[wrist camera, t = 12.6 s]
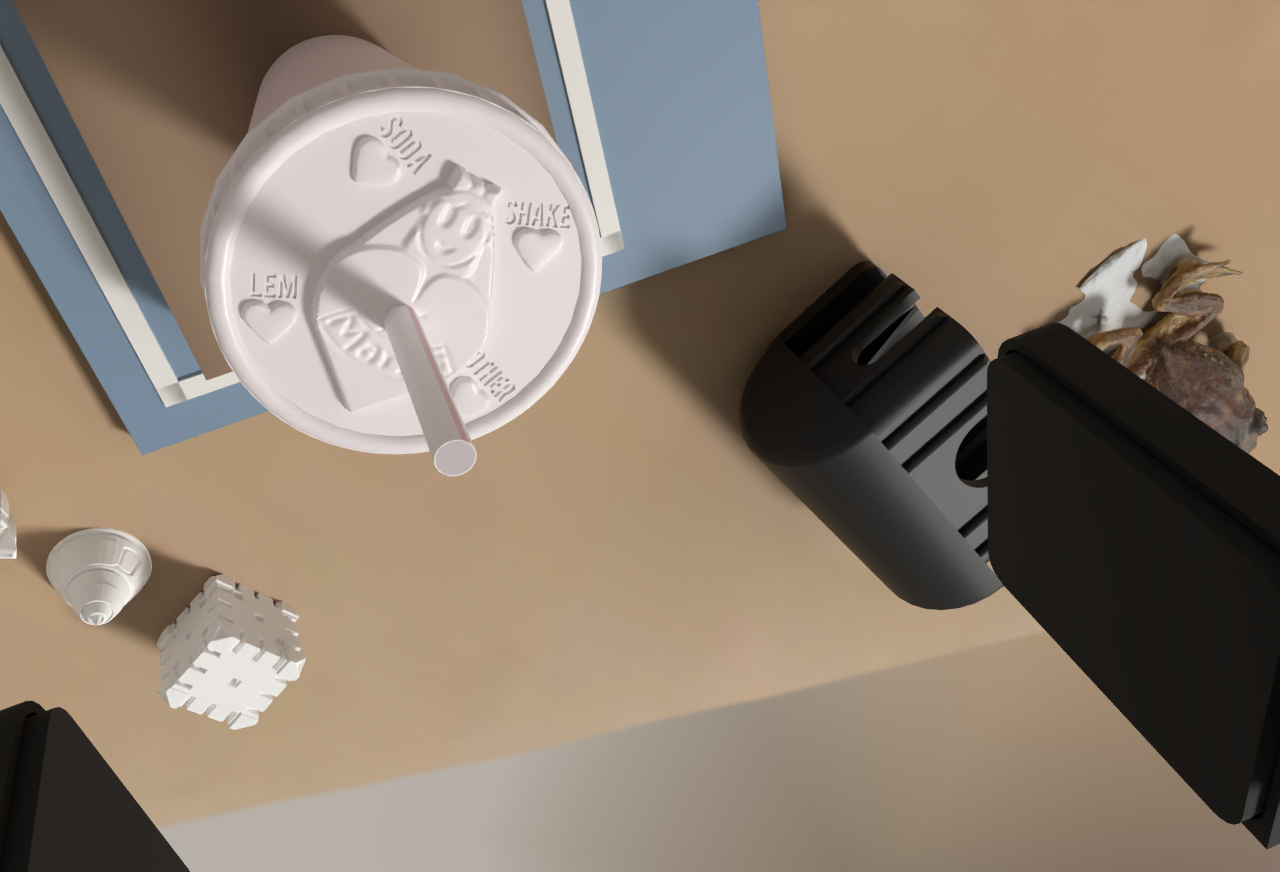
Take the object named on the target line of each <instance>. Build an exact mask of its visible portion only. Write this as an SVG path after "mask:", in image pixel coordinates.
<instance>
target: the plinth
mask: <svg viewBox="0 0 1280 872" xmlns="http://www.w3.org/2000/svg"><path fill="white" fill-rule="evenodd" d="M13 2H14V4H15V6H16V8H17V10H18V12H19V14H20V16H21V18H22V20H23V22H24V24H25V26H26V28H27V30H28V32H29V34H30V36H31V38H32V40H33V42H34V44H35V46H36V47H37V49H38V51H39V53H40V55H41V57H42V59H43V61H44V63H45V65H46V67H47V69H48V71H49V73H50V75H51V77H52V79H53V81H54V83H55V85H56V87H57V89H58V91H59V93H60V95H61V97H62V98H63V100H64V102H65V104H66V106H67V108H68V110H69V112H70V114H71V116H72V118H73V120H74V122H75V124H76V126H77V128H78V130H79V132H80V134H81V136H82V138H83V140H84V142H85V144H86V146H87V147H88V149H89V151H90V153H91V155H92V157H93V159H94V161H95V163H96V165H97V167H98V169H99V171H100V173H101V175H102V177H103V179H104V181H105V183H106V185H107V187H108V189H109V191H110V193H111V195H112V196H113V198H114V200H115V202H116V204H117V206H118V208H119V210H120V212H121V214H122V216H123V218H124V220H125V222H126V224H127V226H128V228H129V230H130V232H131V234H132V236H133V238H134V240H135V242H136V244H137V245H138V247H139V249H140V251H141V253H142V255H143V257H144V259H145V261H146V263H147V265H148V267H149V269H150V271H151V273H152V275H153V277H154V279H155V281H156V283H157V285H158V287H159V289H160V291H161V293H162V294H163V296H164V298H165V300H166V302H167V304H168V306H169V308H170V310H171V312H172V314H173V316H174V318H175V320H176V322H177V324H178V326H179V328H180V330H181V332H182V334H183V336H184V338H185V340H186V342H187V343H188V345H189V347H190V349H191V351H192V353H193V355H194V357H195V359H196V361H197V363H198V365H199V367H200V369H201V371H202V373H203V375H204V377H205V379H206V381H207V380H209V379H212V378H215V377H218V376H221V375H224V374H227V373H230V372H233V371H232V369H231V368H230V366H229V365H228V363H227V361H226V359H225V357H224V355H223V353H222V352H221V350H220V347H219V345H218V342H217V340H216V337H215V335H214V332H213V329H212V326H211V322H210V318H209V315H208V309H207V303H206V299H205V296H204V292H203V289H202V286H201V282H200V228H201V225H202V222H203V219H204V216H205V213H206V209H207V206H208V203H209V200H210V197H211V194H212V190H213V187H214V184H215V181H216V178H217V177H218V175H219V174H220V172H221V171H222V169H223V168H224V167H225V165H226V164H227V162H228V161H229V159H230V158H231V156H232V155H233V153H234V152H235V150H236V149H237V148H238V146H239V145H240V143H241V142H242V140H243V139H244V137H245V136H246V134H247V133H248V129H249V126H250V122H251V118H252V114H253V111H254V107H255V103H256V99H257V96H258V92H259V89H260V86H261V83H262V81H263V79H264V77H265V75H266V73H267V71H268V70H269V69H270V67H271V66H272V64H273V63H274V62H275V61H276V60H277V59H278V58H279V57H280V56H281V55H282V54H283V53H284V52H286V51H287V50H288V49H290V48H291V47H293V46H295V45H297V44H298V43H301V42H303V41H305V40H308V39H311V38H315V37H319V36H326V35H346V36H352V37H356V38H360V39H363V40H366V41H369V42H371V43H373V44H375V45H377V46H379V47H381V48H382V49H384V50H386V51H388V52H389V53H391V54H393V55H395V56H396V57H398V58H400V59H401V60H403V61H405V62H407V63H408V64H410V65H412V66H414V67H415V68H417V69H419V70H427V71H435V72H443V73H451V74H455V75H458V76H460V77H463V78H465V79H467V80H470V81H472V82H475V83H477V84H480V85H482V86H484V87H487V88H489V89H492V90H494V91H497V92H499V93H501V94H503V95H505V96H506V97H507V98H509V99H510V100H511V101H512V102H514V103H515V104H516V105H518V106H519V107H520V108H521V109H523V110H524V111H525V112H527V113H528V114H529V115H530V116H532V117H533V118H534V119H536V120H537V121H538V122H539V123H541V124H542V125H543V126H544V127H545V129H546V130H547V131H548V133H549V134H550V136H551V137H552V138H553V140H554V141H555V142H556V144H557V141H556V137H555V133H554V129H553V125H552V121H551V117H550V113H549V109H548V104H547V100H546V96H545V92H544V88H543V84H542V80H541V76H540V72H539V68H538V64H537V60H536V56H535V52H534V48H533V44H532V40H531V36H530V32H529V28H528V24H527V20H526V16H525V12H524V8H523V4H522V0H13Z"/></svg>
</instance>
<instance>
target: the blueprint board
mask: <svg viewBox="0 0 1280 872" xmlns="http://www.w3.org/2000/svg"><path fill="white" fill-rule="evenodd" d="M522 4H523V8H524V12H525V16H526V20H527V24H528V28H529V32H530V36H531V40H532V44H533V48H534V52H535V56H536V60H537V64H538V68H539V72H540V76H541V80H542V84H543V88H544V92H545V96H546V100H547V104H548V109H549V113H550V117H551V121H552V125H553V129H554V133H555V137H556V141H557V145H558V146H559V148H560V149H561V151H562V152H563V153H564V155H565V156H566V157H567V159H568V160H569V161H570V163H571V164H572V166H573V169H574V171H575V172H576V174H577V175H578V177H579V178H580V180H581V182H582V184H583V186H584V188H585V190H586V192H587V194H588V197H589V199H590V202H591V204H592V207H593V210H594V213H595V217H596V220H597V224H598V228H599V234H600V240H601V250H602V278H601V285H600V293H599V294H602V293H605V292H608V291H610V290H613V289H616V288H619V287H622V286H625V285H627V284H630V283H633V282H636V281H639V280H642V279H644V278H647V277H650V276H653V275H656V274H659V273H662V272H664V271H667V270H670V269H673V268H676V267H679V266H681V265H684V264H687V263H690V262H693V261H696V260H699V259H701V258H704V257H707V256H710V255H713V254H716V253H718V252H721V251H724V250H727V249H730V248H733V247H735V246H738V245H741V244H744V243H747V242H750V241H753V240H755V239H758V238H761V237H764V236H767V235H770V234H772V233H775V232H778V231H781V230H784V229H787V227H786V219H785V211H784V203H783V196H782V188H781V180H780V172H779V164H778V156H777V148H776V140H775V132H774V125H773V117H772V109H771V101H770V93H769V85H768V77H767V69H766V61H765V54H764V46H763V38H762V30H761V22H760V14H759V6H758V0H522ZM0 210H1V212H2V214H3V216H4V217H5V219H6V221H7V223H8V224H9V226H10V228H11V229H12V231H13V233H14V235H15V236H16V238H17V240H18V242H19V243H20V245H21V247H22V248H23V250H24V252H25V254H26V255H27V257H28V259H29V261H30V262H31V264H32V266H33V267H34V269H35V271H36V273H37V274H38V276H39V278H40V280H41V281H42V283H43V285H44V286H45V288H46V290H47V292H48V293H49V295H50V297H51V299H52V300H53V302H54V304H55V305H56V307H57V309H58V311H59V312H60V314H61V316H62V318H63V319H64V321H65V323H66V324H67V326H68V328H69V330H70V331H71V333H72V335H73V337H74V338H75V340H76V342H77V343H78V345H79V347H80V349H81V350H82V352H83V354H84V356H85V357H86V359H87V361H88V362H89V364H90V366H91V368H92V369H93V371H94V373H95V375H96V376H97V378H98V380H99V381H100V383H101V385H102V387H103V388H104V390H105V392H106V394H107V395H108V397H109V399H110V400H111V402H112V404H113V406H114V407H115V409H116V411H117V413H118V414H119V416H120V418H121V419H122V421H123V423H124V425H125V426H126V428H127V430H128V432H129V433H130V435H131V437H132V438H133V440H134V442H135V444H136V445H137V447H138V449H139V451H140V452H141V454H142V455H144V454H147V453H150V452H153V451H155V450H158V449H161V448H164V447H167V446H170V445H172V444H175V443H178V442H181V441H184V440H187V439H190V438H192V437H195V436H198V435H201V434H204V433H207V432H209V431H212V430H215V429H218V428H221V427H224V426H227V425H229V424H232V423H235V422H238V421H241V420H244V419H246V418H249V417H252V416H255V415H258V414H261V413H263V412H266V411H269V410H267V409H266V408H265V407H264V406H263V405H262V404H261V403H260V402H258V401H257V400H256V399H255V398H254V397H253V396H252V395H251V394H250V393H249V391H248V390H247V389H246V388H245V387H244V385H243V384H242V383H241V382H240V381H239V379H238V378H237V376H236V375H235V374H234V372H230V373H227V374H224V375H221V376H218V377H215V378H212V379H209V380H207V381H206V379H205V377H204V375H203V373H202V371H201V369H200V367H199V365H198V363H197V361H196V359H195V357H194V355H193V353H192V351H191V349H190V347H189V345H188V343H187V342H186V340H185V338H184V336H183V334H182V332H181V330H180V328H179V326H178V324H177V322H176V320H175V318H174V316H173V314H172V312H171V310H170V308H169V306H168V304H167V302H166V300H165V298H164V296H163V294H162V293H161V291H160V289H159V287H158V285H157V283H156V281H155V279H154V277H153V275H152V273H151V271H150V269H149V267H148V265H147V263H146V261H145V259H144V257H143V255H142V253H141V251H140V249H139V247H138V245H137V244H136V242H135V240H134V238H133V236H132V234H131V232H130V230H129V228H128V226H127V224H126V222H125V220H124V218H123V216H122V214H121V212H120V210H119V208H118V206H117V204H116V202H115V200H114V198H113V196H112V195H111V193H110V191H109V189H108V187H107V185H106V183H105V181H104V179H103V177H102V175H101V173H100V171H99V169H98V167H97V165H96V163H95V161H94V159H93V157H92V155H91V153H90V151H89V149H88V147H87V146H86V144H85V142H84V140H83V138H82V136H81V134H80V132H79V130H78V128H77V126H76V124H75V122H74V120H73V118H72V116H71V114H70V112H69V110H68V108H67V106H66V104H65V102H64V100H63V98H62V97H61V95H60V93H59V91H58V89H57V87H56V85H55V83H54V81H53V79H52V77H51V75H50V73H49V71H48V69H47V67H46V65H45V63H44V61H43V59H42V57H41V55H40V53H39V51H38V49H37V47H36V46H35V44H34V42H33V40H32V38H31V36H30V34H29V32H28V30H27V28H26V26H25V24H24V22H23V20H22V18H21V16H20V14H19V12H18V10H17V8H16V6H15V4H14V2H13V0H0Z"/></svg>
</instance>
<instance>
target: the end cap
mask: <svg viewBox="0 0 1280 872" xmlns="http://www.w3.org/2000/svg"><path fill="white" fill-rule="evenodd" d="M919 298H920V297H919V295H918V294H917V293H916V291H915V290H914V289H913V288H911V287H910V286H909V285H907V284H906V283H905V282H903V281H902V280H901V279H899V278H898V277H897V276H895V275H894V274H890V275H889V276H888V277H887V276H886V274H885V273H884V272H883V271H882V270H881V269H880V268H878V267H877V266H876V265H874V264H873V263H871V262H860V263H858V264H857V265H855V266H853V267H852V268H851V269H850V270H849V271H848V272H847V273H846V274H844V275H843V276H842V277H841V278H840V279H839V280H838V281H837V282H836V283H835V284H834V285H832V286H831V287H830V288H829V289H828V290H827V291H826V292H825V293H824V294H823V295H822V296H820V297H819V298H818V299H817V300H816V301H815V302H814V303H813V304H812V305H811V306H810V307H808V308H807V309H806V310H805V311H804V312H803V313H802V314H801V315H800V316H799V317H797V318H796V319H795V320H794V321H793V322H792V323H791V324H790V325H789V326H788V327H787V328H785V329H784V330H783V331H782V332H781V333H780V334H779V335H778V337H777V338H776V339H775V340H774V341H773V343H772V344H771V345H770V346H769V348H768V349H767V350H766V352H765V354H764V355H763V356H762V357H761V359H760V360H759V361H758V363H757V364H756V366H755V368H754V369H753V371H752V373H751V375H750V377H749V378H748V381H747V383H746V386H745V389H744V391H743V394H742V398H741V404H740V409H739V412H740V427H741V431H742V435H743V438H744V440H745V441H746V443H747V445H748V446H749V448H750V450H751V451H752V452H753V453H754V454H755V455H756V456H757V457H758V458H759V459H760V460H761V461H762V462H763V463H764V464H765V465H766V466H767V467H768V468H769V469H770V470H771V471H772V472H773V473H774V474H775V475H776V476H777V477H778V478H779V479H780V480H781V481H782V482H783V483H784V484H785V485H786V486H787V487H788V488H789V489H790V490H791V491H792V492H793V493H794V494H795V495H796V496H797V497H798V498H799V499H800V500H801V501H802V502H803V503H804V504H805V505H806V506H807V507H808V508H809V509H810V510H811V511H812V512H813V513H814V514H815V515H816V516H817V517H818V518H819V519H820V520H821V521H822V522H823V523H824V524H825V525H826V526H827V527H828V528H829V529H830V530H831V531H832V532H833V533H834V534H835V535H836V536H837V537H838V538H839V539H840V540H841V541H842V542H843V543H844V544H845V545H846V546H847V547H848V548H849V549H850V550H851V551H852V552H853V553H854V554H855V555H856V556H857V557H858V558H859V559H860V560H861V561H862V562H863V563H864V564H865V565H866V566H867V567H868V568H869V569H870V570H871V571H872V572H873V573H874V574H875V575H876V576H877V577H878V578H879V579H880V580H881V581H882V582H883V583H884V584H885V585H886V586H887V587H888V588H889V589H890V590H891V591H892V592H893V593H894V594H896V595H897V596H898V597H899V598H901V599H903V600H904V601H906V602H908V603H910V604H912V605H915V606H918V607H922V608H925V609H935V610H946V609H955V608H961V607H964V606H967V605H971V604H974V603H976V602H978V601H980V600H982V599H984V598H986V597H989V596H990V595H992V594H993V593H995V592H996V591H997V590H999V589H1000V588H1002V587H1003V586H1004V585H1003V584H1002V583H1001V581H1000V580H999V579H998V577H997V576H996V575H995V574H994V572H993V571H992V570H991V569H990V568H989V567H988V565H987V564H986V563H987V562H988V561H989V560H990V559H989V555H988V495H987V369H988V365H989V363H990V362H991V360H990V359H989V358H988V356H987V355H986V353H985V352H984V350H983V349H982V348H981V346H980V345H979V343H978V342H977V341H976V340H975V338H974V337H973V336H972V335H971V334H970V333H969V332H968V331H967V330H966V329H965V328H964V327H963V326H962V325H960V324H959V323H958V322H957V321H955V320H954V319H953V318H951V317H950V316H949V315H947V314H946V313H945V312H943V311H942V310H941V309H939V308H938V307H937V308H936V309H934V310H933V311H932V312H931V313H930V314H929V315H928V316H927V317H926V318H925V317H924V316H923V315H922V313H921V312H920V311H919V309H918V308H917V306H916V305H915V304H914V303H915V302H916V301H917V300H918V299H919Z"/></svg>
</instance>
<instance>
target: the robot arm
mask: <svg viewBox="0 0 1280 872" xmlns="http://www.w3.org/2000/svg"><path fill="white" fill-rule="evenodd" d="M987 495H988V555H989V559H990V562H991V565H992V567H993V570H994V572H995V574H996V575H997V577H998V579H999V580H1000V581H1001V583H1002V584H1003V585H1004V586H1005V587H1006V588H1007V589H1008V591H1009V592H1010V593H1011V594H1012V595H1013V596H1014V597H1015V598H1016V599H1017V600H1018V601H1019V602H1020V604H1021V605H1022V606H1023V607H1024V608H1025V609H1026V610H1027V611H1028V612H1029V613H1030V614H1031V615H1032V617H1033V618H1034V619H1035V620H1036V621H1037V622H1038V623H1039V624H1040V625H1041V626H1042V627H1043V628H1044V629H1045V631H1046V632H1047V633H1048V634H1049V635H1050V636H1051V637H1052V638H1053V639H1054V640H1055V641H1056V642H1057V643H1058V645H1059V646H1060V647H1061V648H1062V649H1063V650H1064V651H1065V652H1066V653H1067V654H1068V655H1069V656H1070V658H1071V659H1072V660H1073V661H1074V662H1075V663H1076V664H1077V665H1078V666H1079V667H1080V668H1081V669H1082V671H1083V672H1084V673H1085V674H1086V675H1087V676H1088V677H1089V678H1090V679H1091V680H1092V681H1093V682H1094V683H1095V685H1097V687H1098V688H1099V689H1100V690H1101V691H1102V692H1103V693H1104V694H1105V695H1106V696H1107V697H1108V699H1109V700H1110V701H1111V702H1112V703H1113V704H1114V705H1115V706H1116V707H1117V708H1118V709H1119V710H1120V712H1121V713H1122V714H1123V715H1124V716H1125V717H1126V718H1127V719H1128V720H1129V721H1130V722H1131V723H1132V725H1133V726H1134V727H1135V728H1136V729H1137V730H1138V731H1139V732H1140V733H1141V734H1142V735H1143V736H1144V737H1145V739H1146V740H1147V741H1148V742H1149V743H1150V744H1151V745H1152V746H1153V747H1154V748H1155V749H1156V751H1157V752H1158V753H1159V754H1160V755H1161V756H1162V757H1163V758H1164V759H1165V760H1166V761H1167V762H1168V763H1169V765H1170V766H1171V767H1172V768H1173V769H1174V770H1175V771H1176V772H1177V773H1178V774H1179V775H1180V776H1181V778H1183V780H1184V781H1185V782H1186V783H1187V784H1188V785H1189V786H1190V787H1191V788H1192V789H1193V790H1194V791H1195V793H1196V794H1197V795H1198V796H1199V797H1200V798H1201V799H1202V800H1203V801H1204V802H1205V803H1206V805H1207V806H1208V807H1209V808H1210V809H1211V810H1212V811H1213V812H1214V813H1215V814H1216V815H1217V816H1218V817H1219V818H1221V819H1222V820H1224V821H1226V822H1227V823H1230V824H1234V825H1235V824H1238V823H1242V824H1243V825H1244V826H1245V827H1246V828H1247V829H1248V830H1249V831H1250V832H1251V833H1252V834H1253V835H1254V836H1255V837H1256V839H1257V840H1258V841H1259V842H1260V843H1261V844H1262V845H1263V846H1264V847H1265V848H1266V849H1269V848H1271V847H1273V846H1276V845H1278V844H1279V843H1280V476H1279V475H1278V474H1276V473H1275V472H1273V471H1272V470H1271V469H1269V468H1268V467H1266V466H1265V465H1263V464H1262V463H1261V462H1259V461H1258V460H1256V459H1255V458H1254V457H1252V456H1251V455H1249V454H1248V453H1246V452H1245V451H1244V450H1242V449H1241V448H1239V447H1238V446H1237V445H1235V444H1234V443H1232V442H1231V441H1229V440H1228V439H1227V438H1225V437H1224V436H1222V435H1221V434H1220V433H1218V432H1217V431H1215V430H1214V429H1212V428H1211V427H1210V426H1208V425H1207V424H1205V423H1204V422H1203V421H1201V420H1200V419H1198V418H1197V417H1195V416H1194V415H1193V414H1191V413H1190V412H1188V411H1187V410H1185V409H1184V408H1183V407H1181V406H1180V405H1178V404H1177V403H1176V402H1174V401H1173V400H1171V399H1170V398H1168V397H1167V396H1166V395H1164V394H1163V393H1161V392H1160V391H1159V390H1157V389H1156V388H1154V387H1153V386H1151V385H1150V384H1149V383H1147V382H1146V381H1144V380H1143V379H1142V378H1140V377H1139V376H1137V375H1136V374H1134V373H1133V372H1132V371H1130V370H1129V369H1127V368H1126V367H1125V366H1123V365H1122V364H1120V363H1119V362H1117V361H1116V360H1115V359H1113V358H1112V357H1110V356H1109V355H1108V354H1106V353H1105V352H1103V351H1102V350H1100V349H1099V348H1098V347H1096V346H1095V345H1093V344H1092V343H1091V342H1089V341H1088V340H1086V339H1085V338H1083V337H1082V336H1081V335H1079V334H1078V333H1076V332H1075V331H1074V330H1072V329H1071V328H1069V327H1068V326H1066V325H1063V324H1061V323H1051V324H1048V325H1046V326H1043V327H1040V328H1038V329H1035V330H1032V331H1029V332H1027V333H1024V334H1021V335H1019V336H1016V337H1013V338H1010V339H1008V340H1006V341H1005V342H1003V343H1002V344H1001V346H1000V348H999V351H998V358H997V359H994V360H993V361H991V362H990V363H989V365H988V369H987ZM0 872H190V871H189V869H188V868H187V867H186V865H185V864H184V863H183V861H182V860H181V859H180V858H179V856H178V855H177V854H176V852H175V851H174V850H173V848H172V847H171V846H170V845H169V843H168V842H167V841H166V839H165V838H164V837H163V835H162V834H161V833H160V831H159V830H158V829H157V828H156V826H155V825H154V824H153V822H152V821H151V820H150V818H149V817H148V816H147V815H146V813H145V812H144V811H143V809H142V808H141V807H140V805H139V804H138V803H137V802H136V800H135V799H134V798H133V796H132V795H131V794H130V792H129V791H128V790H127V789H126V787H125V786H124V785H123V783H122V782H121V781H120V779H119V778H118V777H117V775H116V774H115V773H114V772H113V770H112V769H111V768H110V766H109V765H108V764H107V762H106V761H105V760H104V759H103V757H102V756H101V755H100V753H99V752H98V751H97V749H96V748H95V747H94V746H93V744H92V743H91V742H90V740H89V739H88V738H87V736H86V735H85V734H84V732H83V731H82V730H81V729H80V727H79V726H78V725H77V723H76V722H75V721H74V719H73V718H72V717H71V716H70V715H69V714H68V712H67V711H66V710H64V709H62V708H60V707H57V708H53V709H50V710H48V711H45V710H44V709H43V708H42V707H41V706H40V705H39V704H38V703H36V702H34V701H25V702H23V703H20V704H17V705H14V706H12V707H9V708H6V709H4V710H1V711H0Z"/></svg>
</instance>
